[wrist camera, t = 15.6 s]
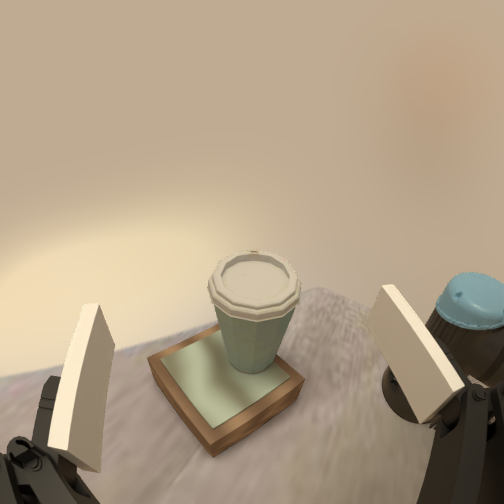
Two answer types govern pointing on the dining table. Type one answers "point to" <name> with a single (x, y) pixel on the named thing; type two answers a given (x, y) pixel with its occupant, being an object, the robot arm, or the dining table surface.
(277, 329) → the disposable coffee cup
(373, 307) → the robot arm
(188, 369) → the walnut stand
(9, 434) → the dining table surface
